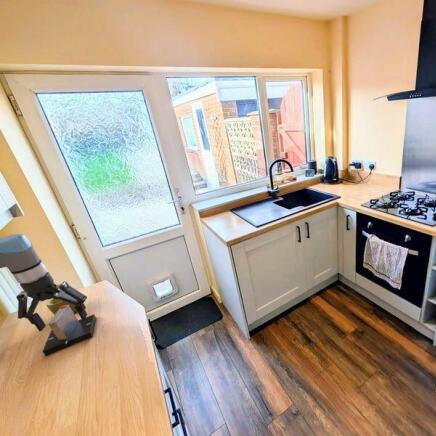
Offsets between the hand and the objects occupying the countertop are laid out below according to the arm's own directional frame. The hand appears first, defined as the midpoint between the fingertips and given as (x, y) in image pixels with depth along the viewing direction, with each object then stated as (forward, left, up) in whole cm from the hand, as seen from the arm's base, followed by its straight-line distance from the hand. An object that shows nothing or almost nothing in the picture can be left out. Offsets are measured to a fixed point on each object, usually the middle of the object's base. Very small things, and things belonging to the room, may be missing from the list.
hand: (64, 322), depth 92 cm
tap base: (0, 0, -7) cm, 7 cm away
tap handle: (0, 0, -4) cm, 4 cm away
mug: (-5, +20, -7) cm, 22 cm away
